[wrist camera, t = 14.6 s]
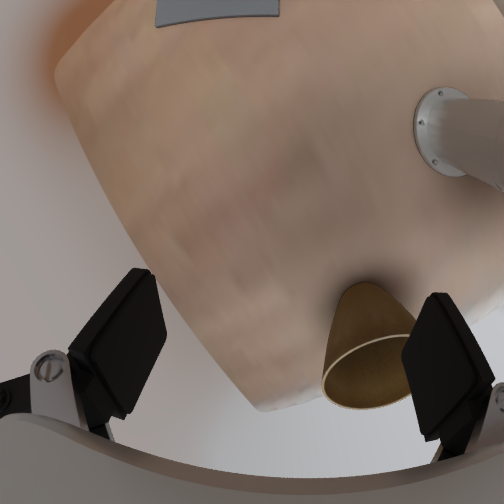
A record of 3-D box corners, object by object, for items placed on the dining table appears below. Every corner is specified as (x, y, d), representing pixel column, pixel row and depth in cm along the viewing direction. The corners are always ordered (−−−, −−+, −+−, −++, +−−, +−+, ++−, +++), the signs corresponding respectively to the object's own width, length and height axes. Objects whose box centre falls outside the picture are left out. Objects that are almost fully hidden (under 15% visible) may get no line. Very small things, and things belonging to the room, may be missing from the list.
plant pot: (419, 291, 40) (455, 363, 26) (357, 344, 46) (370, 418, 32) (362, 240, 37) (396, 315, 23) (297, 306, 44) (295, 389, 30)
